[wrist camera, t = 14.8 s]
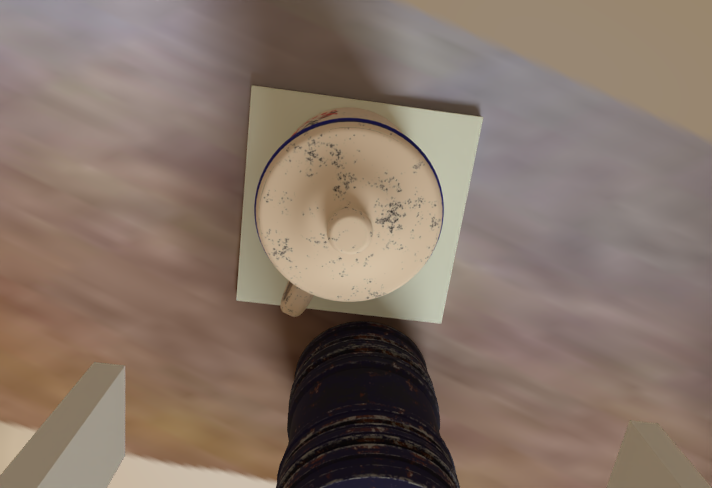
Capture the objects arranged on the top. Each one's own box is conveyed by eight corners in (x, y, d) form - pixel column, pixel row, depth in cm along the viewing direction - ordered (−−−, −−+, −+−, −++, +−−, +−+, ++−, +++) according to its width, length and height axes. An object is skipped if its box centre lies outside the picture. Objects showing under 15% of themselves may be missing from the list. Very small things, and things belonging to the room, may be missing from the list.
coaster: (480, 116, 34) (483, 117, 34) (439, 319, 39) (441, 323, 38) (253, 85, 33) (251, 85, 33) (237, 296, 38) (236, 300, 37)
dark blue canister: (360, 292, 38) (370, 435, 24) (457, 378, 40) (518, 554, 26) (264, 383, 40) (221, 563, 26) (361, 460, 42) (370, 663, 28)
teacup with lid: (315, 74, 33) (300, 84, 22) (448, 146, 34) (497, 190, 23) (232, 245, 36) (182, 330, 25) (356, 304, 37) (361, 408, 26)
